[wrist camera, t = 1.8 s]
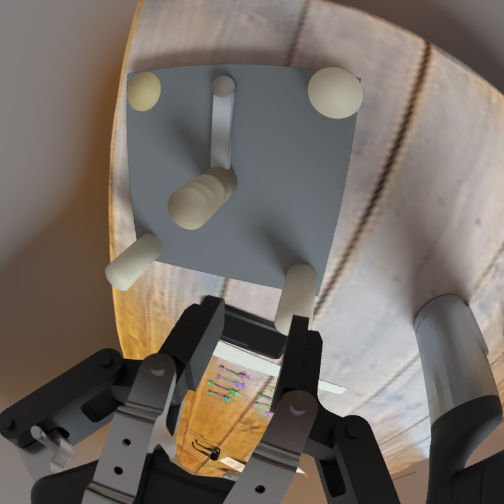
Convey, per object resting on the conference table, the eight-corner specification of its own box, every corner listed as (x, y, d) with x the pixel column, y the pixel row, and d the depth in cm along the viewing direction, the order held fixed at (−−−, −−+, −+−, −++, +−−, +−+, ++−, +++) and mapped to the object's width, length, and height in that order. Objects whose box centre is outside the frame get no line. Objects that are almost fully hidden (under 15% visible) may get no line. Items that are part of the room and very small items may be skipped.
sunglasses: (217, 452, 91) (212, 461, 87) (192, 439, 92) (187, 448, 88) (225, 449, 85) (220, 459, 81) (199, 435, 86) (193, 444, 82)
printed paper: (347, 387, 46) (347, 393, 45) (284, 429, 63) (283, 433, 62) (203, 331, 47) (200, 337, 46) (182, 390, 64) (180, 395, 63)
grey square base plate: (356, 81, 22) (376, 66, 13) (319, 281, 35) (312, 345, 26) (142, 74, 26) (77, 75, 17) (150, 246, 39) (106, 289, 30)
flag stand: (220, 468, 111) (203, 512, 86) (236, 470, 104) (220, 516, 79) (236, 475, 114) (221, 517, 89) (253, 477, 107) (238, 521, 83)
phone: (203, 299, 41) (295, 334, 40) (205, 295, 42) (296, 329, 41) (197, 330, 45) (278, 361, 44) (199, 325, 46) (279, 356, 45)
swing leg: (209, 76, 22) (167, 70, 16) (244, 76, 22) (212, 67, 15) (205, 195, 29) (169, 226, 23) (236, 199, 28) (207, 232, 22)
